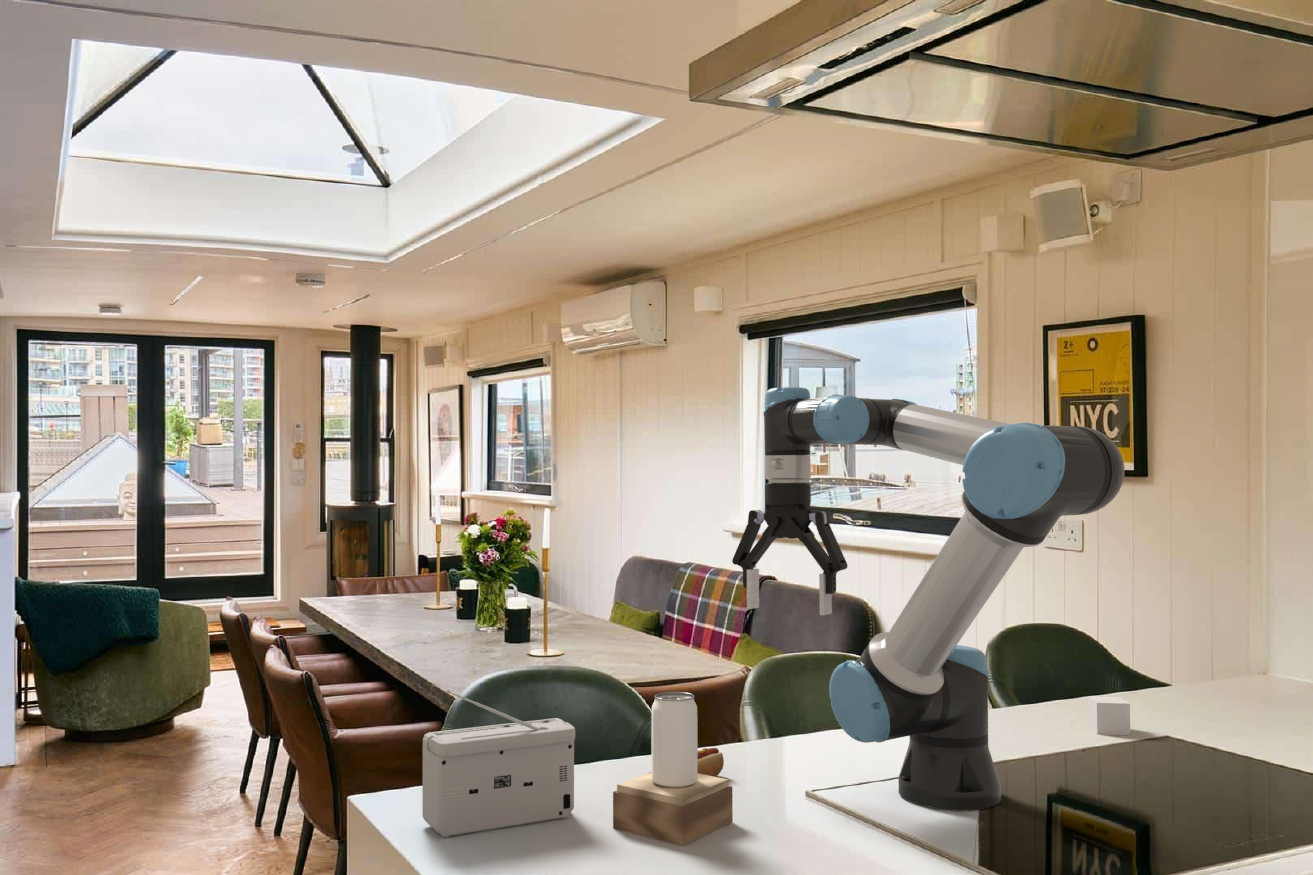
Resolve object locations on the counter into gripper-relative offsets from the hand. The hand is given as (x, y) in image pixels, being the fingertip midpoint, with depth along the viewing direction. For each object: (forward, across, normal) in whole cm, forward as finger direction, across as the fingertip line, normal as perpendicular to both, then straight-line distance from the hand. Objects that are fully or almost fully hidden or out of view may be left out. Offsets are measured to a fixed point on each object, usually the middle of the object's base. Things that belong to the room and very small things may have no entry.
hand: (788, 611), depth 174 cm
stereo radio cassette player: (+27, -22, -44) cm, 56 cm away
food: (+27, -10, -13) cm, 32 cm away
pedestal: (+27, -1, -31) cm, 41 cm away
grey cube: (+27, +34, +63) cm, 77 cm away
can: (+21, -1, -31) cm, 37 cm away
